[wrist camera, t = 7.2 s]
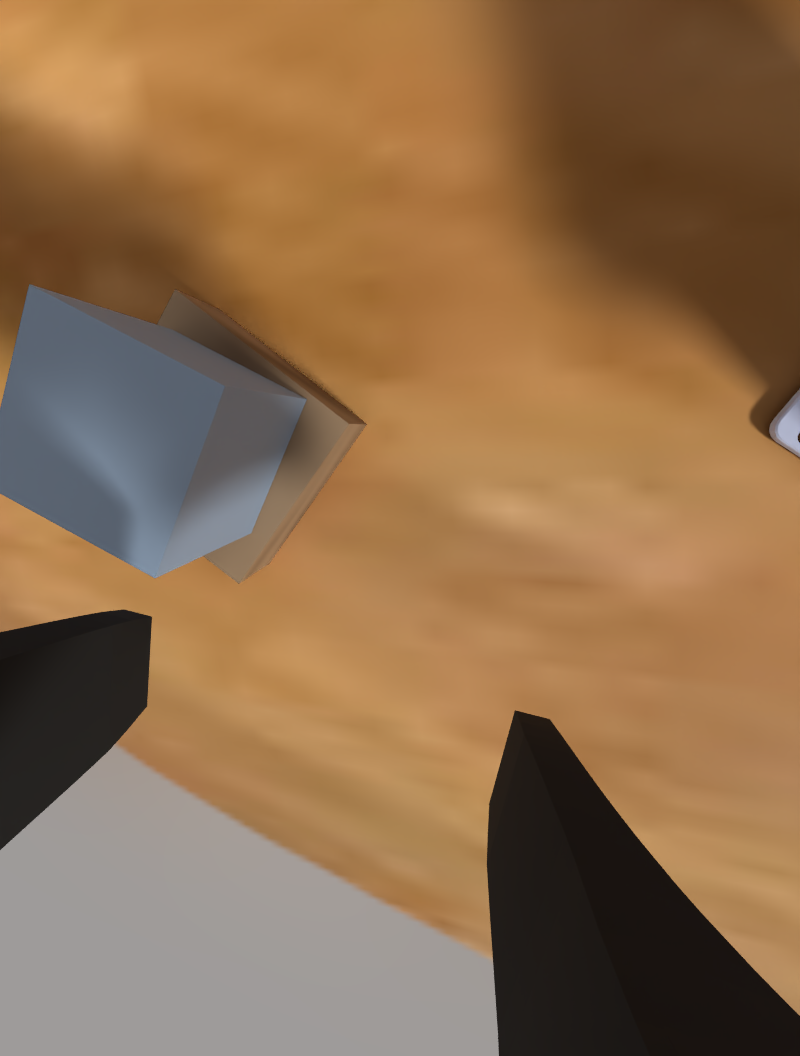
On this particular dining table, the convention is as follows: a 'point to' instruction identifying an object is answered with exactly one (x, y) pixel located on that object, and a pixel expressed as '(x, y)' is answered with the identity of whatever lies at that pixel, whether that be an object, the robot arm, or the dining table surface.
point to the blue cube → (137, 433)
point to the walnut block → (309, 450)
